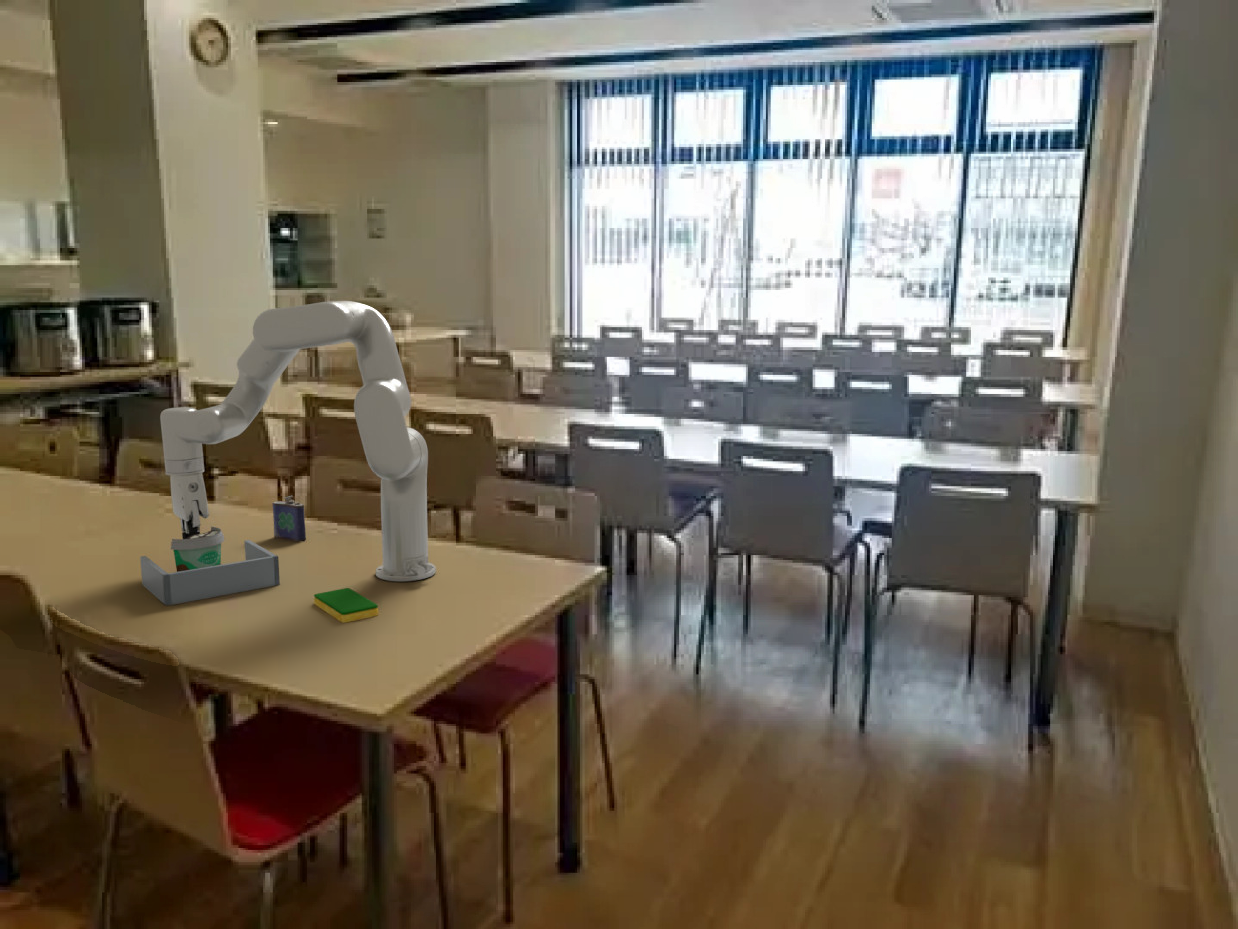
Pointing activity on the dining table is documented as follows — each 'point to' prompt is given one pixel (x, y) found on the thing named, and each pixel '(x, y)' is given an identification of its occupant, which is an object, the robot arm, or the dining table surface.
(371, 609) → the dish sponge
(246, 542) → the grey u-shaped frame
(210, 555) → the food container
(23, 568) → the dining table surface
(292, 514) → the flask
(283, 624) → the dining table surface
